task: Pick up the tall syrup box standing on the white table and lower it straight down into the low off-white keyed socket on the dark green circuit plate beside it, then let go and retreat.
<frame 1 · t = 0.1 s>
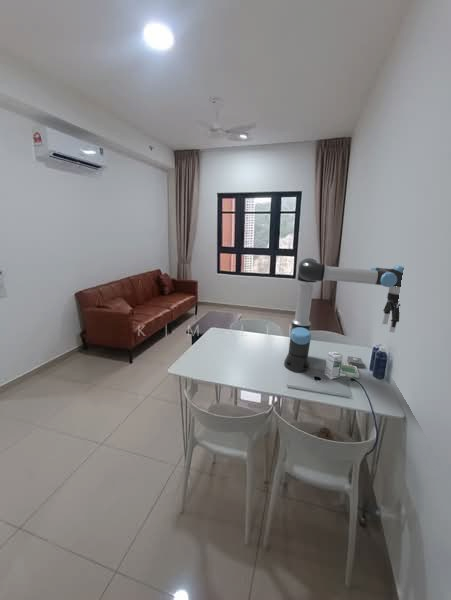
hand: (387, 327, 159), 28 cm above the table, fingers open, 13 cm apart
syrup box: (331, 376, 157), on the table
header: (347, 372, 162), on the table
fan: (354, 364, 173), on the table
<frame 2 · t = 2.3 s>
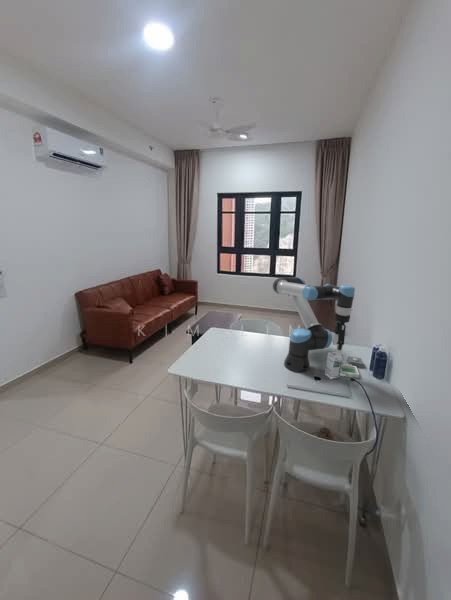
hand: (336, 349, 152), 17 cm above the table, fingers open, 13 cm apart
nothing on the table moved.
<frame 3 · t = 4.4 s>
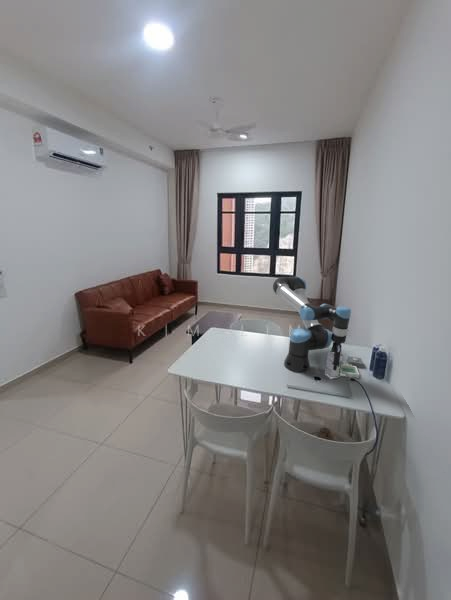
hand: (332, 370, 156), 4 cm above the table, fingers closed on syrup box, 7 cm apart
syrup box: (331, 376, 157), on the table, touching gripper
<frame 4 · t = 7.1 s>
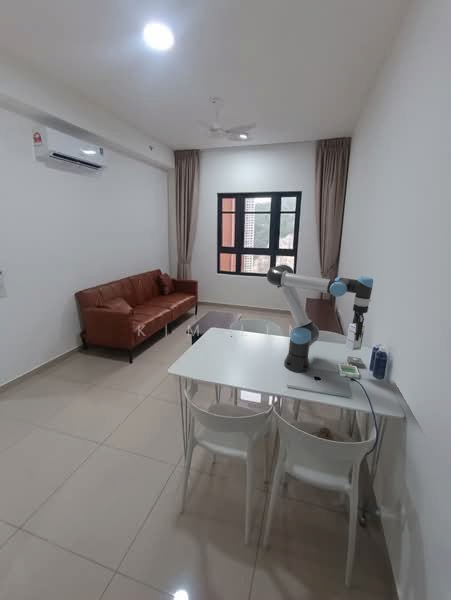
hand: (353, 342, 156), 20 cm above the table, fingers closed on syrup box, 7 cm apart
syrup box: (352, 348, 157), point 16 cm above the table, touching gripper
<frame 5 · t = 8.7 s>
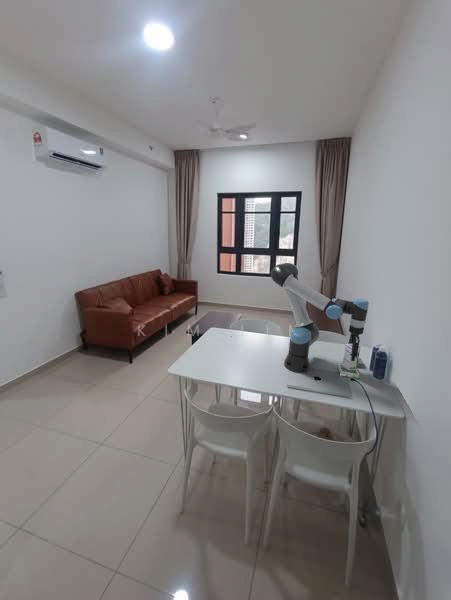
hand: (350, 361, 160), 7 cm above the table, fingers closed on syrup box, 7 cm apart
syrup box: (349, 367, 161), point 3 cm above the table, touching gripper
when the fingers open (5 cm above the table, at t = 9.8 s): syrup box stays where it is, resting on header.
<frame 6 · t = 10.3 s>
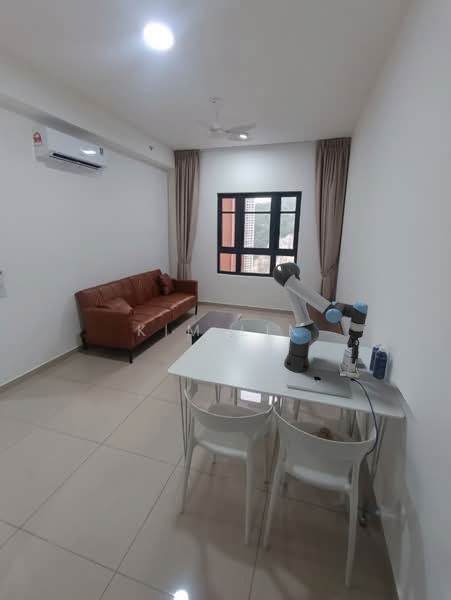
hand: (349, 362, 160), 7 cm above the table, fingers open, 13 cm apart
syrup box: (347, 372, 162), resting on header
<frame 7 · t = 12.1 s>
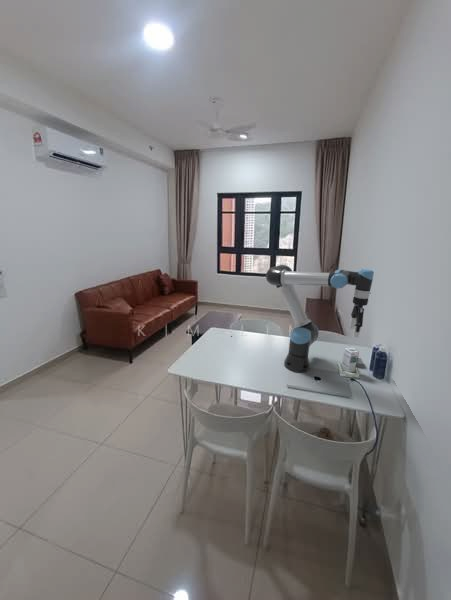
hand: (353, 332, 156), 26 cm above the table, fingers open, 13 cm apart
nothing on the table moved.
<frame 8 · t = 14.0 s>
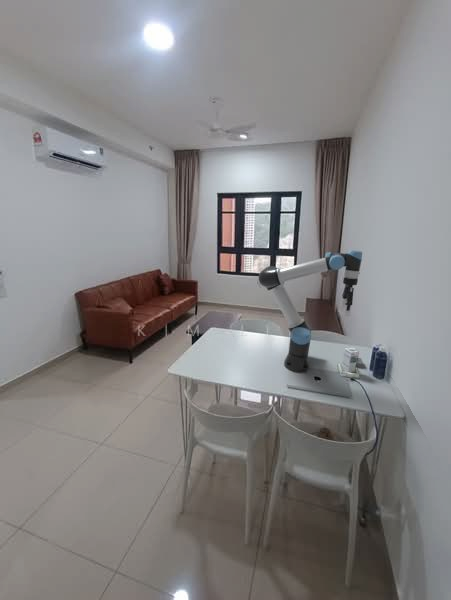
hand: (344, 312, 162), 35 cm above the table, fingers open, 13 cm apart
nothing on the table moved.
at the end: syrup box 0.2 cm off-centre on the header, point 0.3 cm above the header's base; syrup box tilted 0°; the gripper is holding nothing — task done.
